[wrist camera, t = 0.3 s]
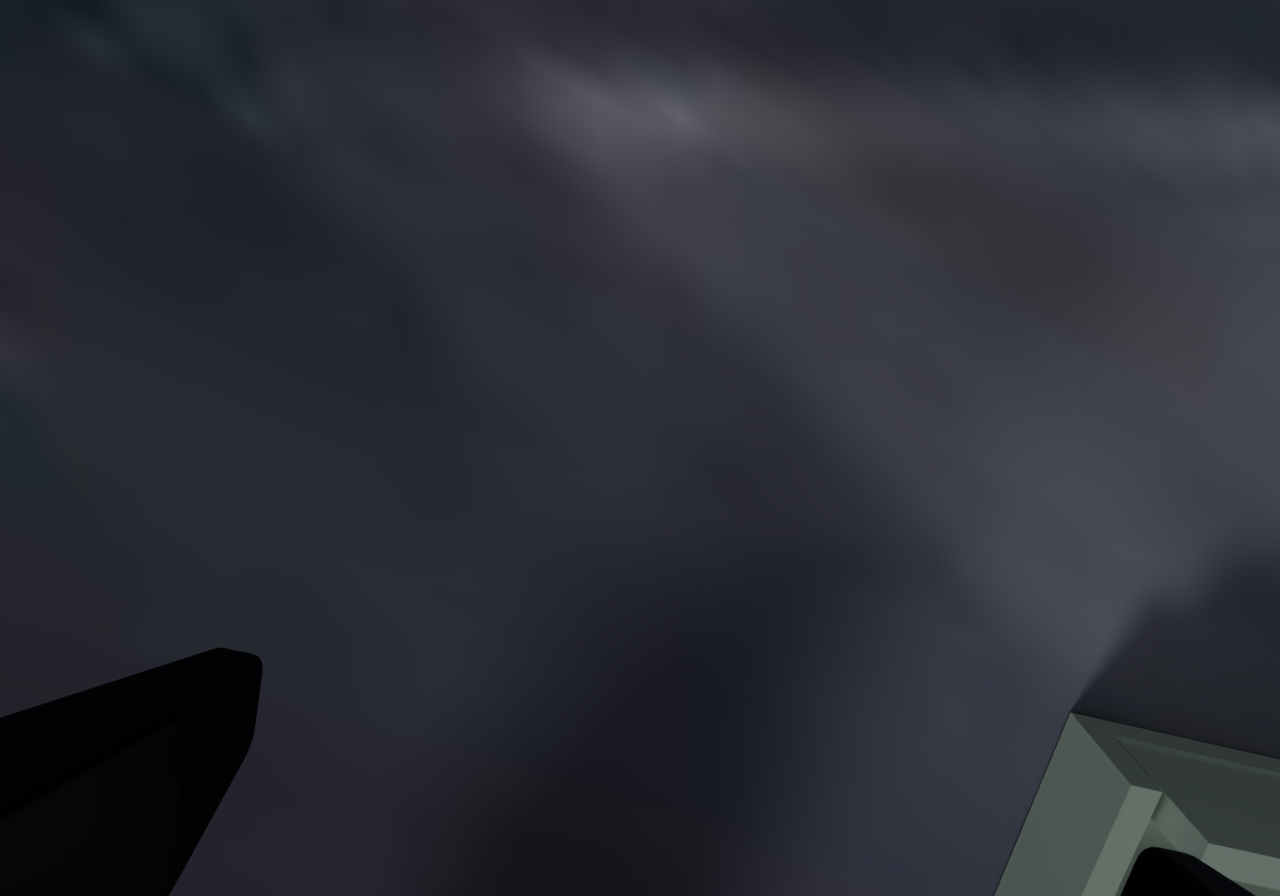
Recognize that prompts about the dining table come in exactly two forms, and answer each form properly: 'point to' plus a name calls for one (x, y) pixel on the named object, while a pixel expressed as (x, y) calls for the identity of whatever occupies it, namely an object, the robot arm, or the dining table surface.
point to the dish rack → (1145, 812)
